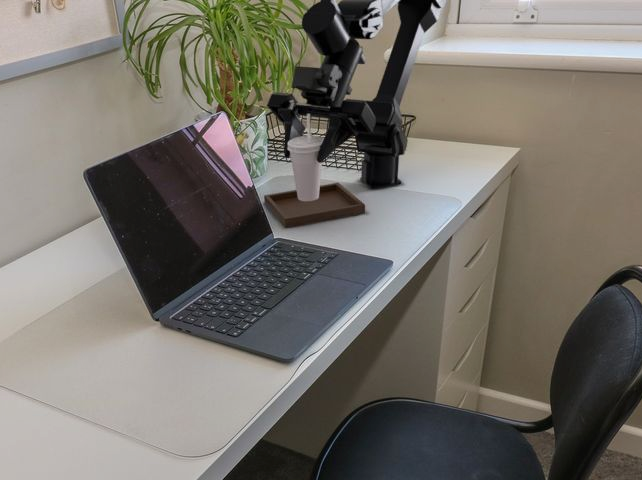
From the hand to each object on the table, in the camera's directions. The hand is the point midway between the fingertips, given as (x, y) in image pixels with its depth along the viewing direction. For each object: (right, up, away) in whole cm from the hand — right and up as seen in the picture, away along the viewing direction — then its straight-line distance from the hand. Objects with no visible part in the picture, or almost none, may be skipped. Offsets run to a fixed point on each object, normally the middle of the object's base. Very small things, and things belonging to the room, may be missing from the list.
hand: (302, 159), depth 116 cm
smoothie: (+2, -5, +5) cm, 7 cm away
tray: (+3, -4, +16) cm, 17 cm away
